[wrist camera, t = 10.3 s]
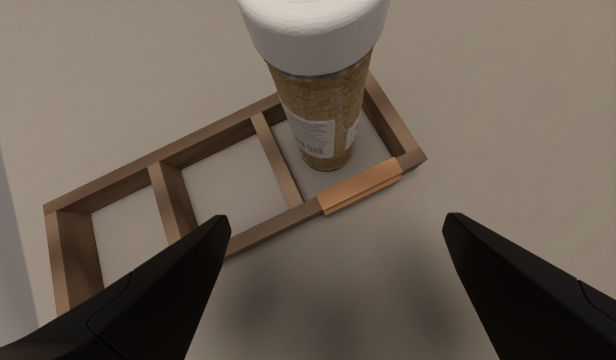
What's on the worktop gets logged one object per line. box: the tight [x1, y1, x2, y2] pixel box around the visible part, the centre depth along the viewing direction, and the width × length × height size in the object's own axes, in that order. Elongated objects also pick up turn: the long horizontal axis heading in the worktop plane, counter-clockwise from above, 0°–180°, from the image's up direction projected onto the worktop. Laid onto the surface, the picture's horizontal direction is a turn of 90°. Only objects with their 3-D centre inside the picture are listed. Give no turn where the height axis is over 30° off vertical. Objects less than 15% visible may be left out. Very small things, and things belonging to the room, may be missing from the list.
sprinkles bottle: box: [237, 0, 390, 171], centre depth 12 cm, size 5×5×13 cm
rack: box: [43, 69, 427, 317], centre depth 17 cm, size 10×28×3 cm, turn 115°
